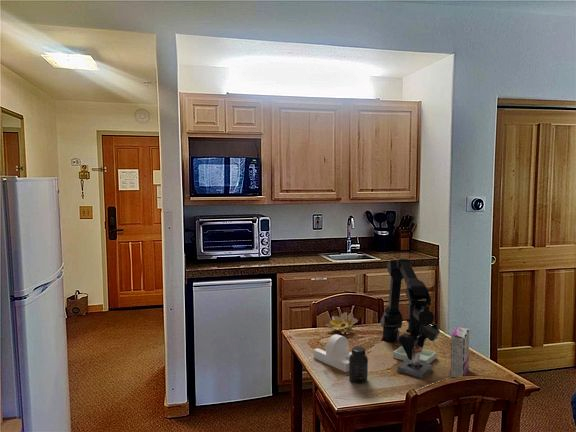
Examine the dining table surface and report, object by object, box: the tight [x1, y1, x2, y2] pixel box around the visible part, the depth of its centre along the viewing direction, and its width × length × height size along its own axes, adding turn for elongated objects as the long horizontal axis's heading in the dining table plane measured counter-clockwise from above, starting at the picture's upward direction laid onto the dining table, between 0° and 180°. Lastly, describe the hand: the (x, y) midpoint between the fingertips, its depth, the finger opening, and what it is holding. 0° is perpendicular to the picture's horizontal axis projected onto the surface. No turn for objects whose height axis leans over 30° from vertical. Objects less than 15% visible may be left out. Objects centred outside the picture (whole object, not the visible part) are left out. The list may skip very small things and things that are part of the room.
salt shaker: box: [410, 345, 422, 370], centre depth 162 cm, size 5×5×10 cm
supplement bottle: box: [348, 345, 369, 385], centre depth 154 cm, size 7×7×12 cm
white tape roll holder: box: [313, 334, 352, 373], centre depth 171 cm, size 18×10×11 cm, turn 41°
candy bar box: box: [450, 326, 470, 379], centre depth 160 cm, size 11×5×16 cm, turn 148°
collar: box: [396, 359, 433, 380], centre depth 163 cm, size 10×10×2 cm
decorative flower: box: [325, 311, 359, 335], centre depth 206 cm, size 15×11×10 cm
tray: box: [392, 345, 437, 365], centre depth 175 cm, size 14×11×2 cm
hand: (415, 355), depth 162 cm, fingers open, 9 cm apart
